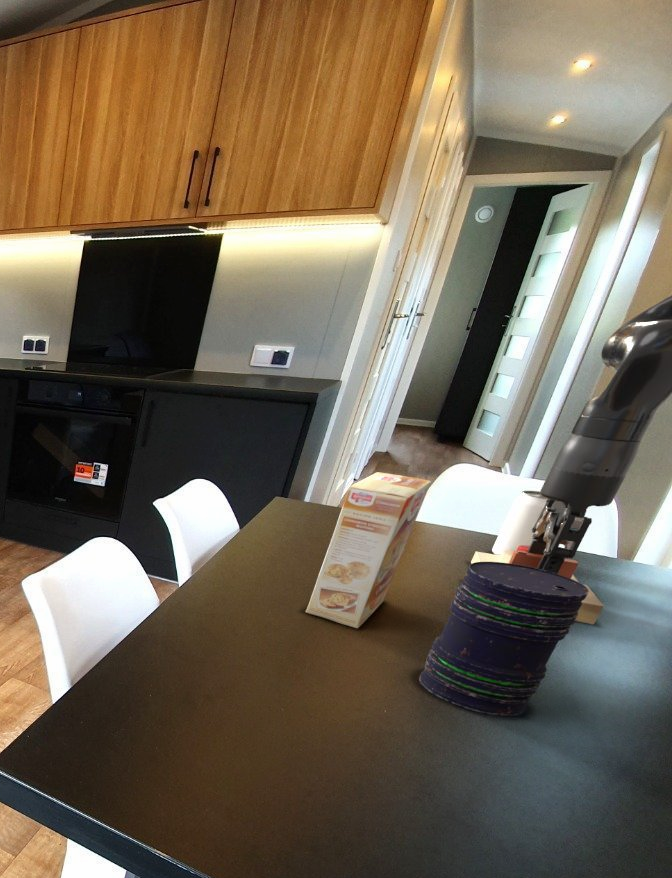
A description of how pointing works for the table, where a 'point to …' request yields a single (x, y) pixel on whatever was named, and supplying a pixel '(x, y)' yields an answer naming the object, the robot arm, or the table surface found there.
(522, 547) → the button
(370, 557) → the coffeecake box
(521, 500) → the can
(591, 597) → the holder base
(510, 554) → the button box
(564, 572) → the holder
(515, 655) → the dark blue barrel
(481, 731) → the table surface
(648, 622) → the table surface
